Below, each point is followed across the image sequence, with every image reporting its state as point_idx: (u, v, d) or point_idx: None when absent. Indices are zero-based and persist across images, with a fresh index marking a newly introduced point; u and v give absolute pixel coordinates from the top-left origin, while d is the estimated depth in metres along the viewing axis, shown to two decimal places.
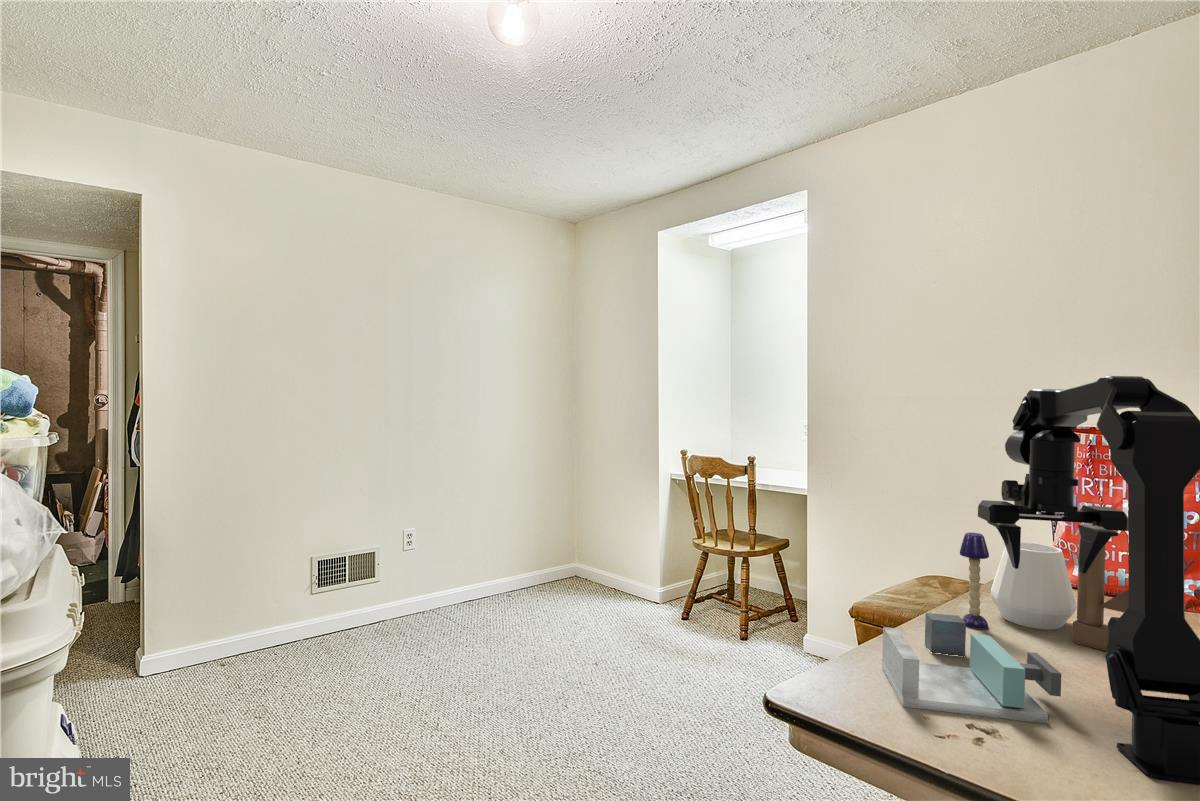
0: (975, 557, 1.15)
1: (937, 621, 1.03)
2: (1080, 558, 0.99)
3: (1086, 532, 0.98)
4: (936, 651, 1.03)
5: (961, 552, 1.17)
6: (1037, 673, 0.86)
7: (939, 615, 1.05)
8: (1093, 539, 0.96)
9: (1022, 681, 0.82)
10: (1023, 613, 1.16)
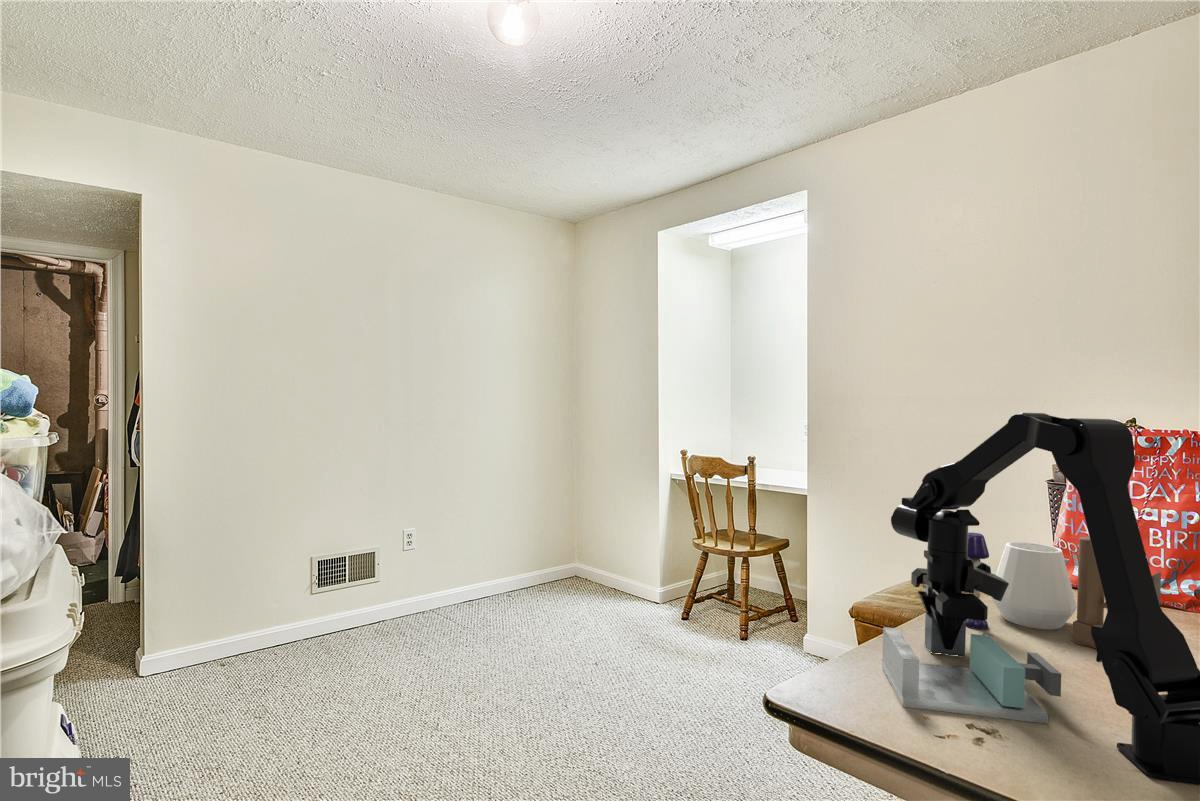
0: (975, 557, 1.15)
1: None
2: None
3: None
4: (936, 651, 1.03)
5: None
6: (1037, 673, 0.86)
7: None
8: None
9: (1022, 681, 0.82)
10: (1023, 613, 1.16)
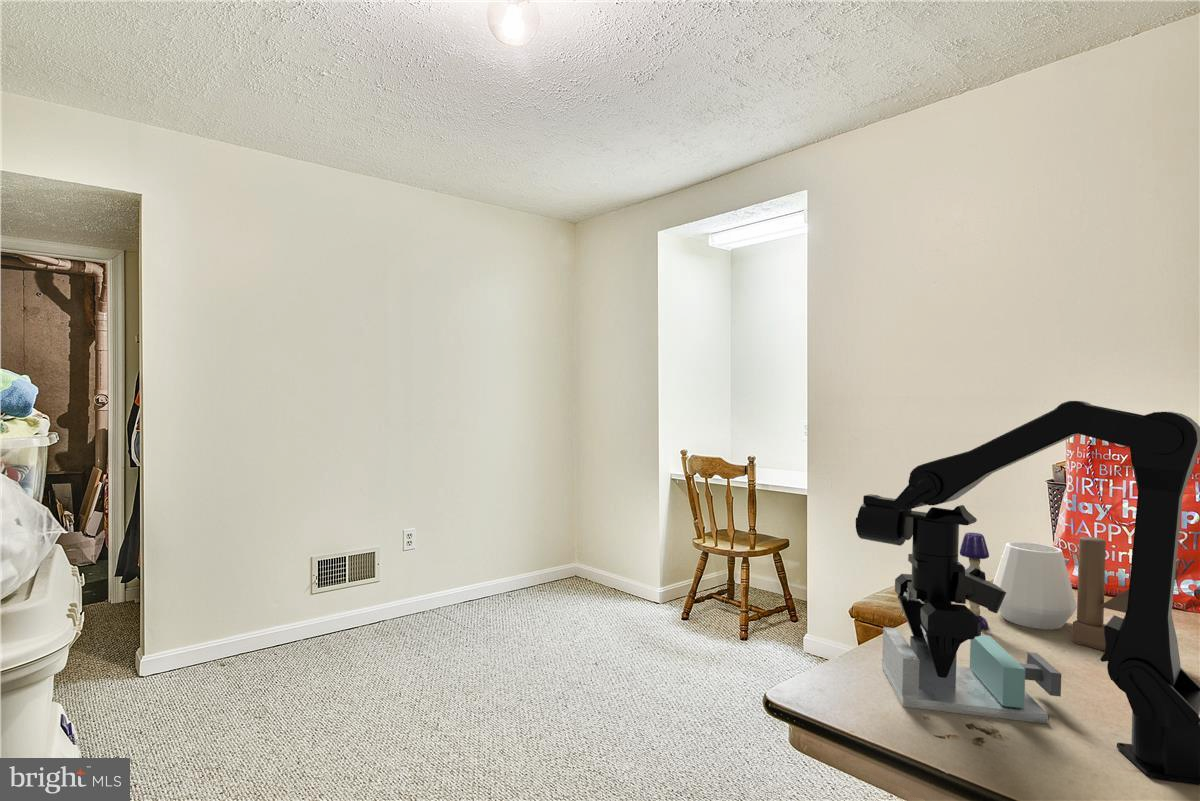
0: (975, 557, 1.15)
1: (923, 647, 0.88)
2: None
3: None
4: (922, 681, 0.88)
5: (961, 552, 1.17)
6: (1037, 673, 0.86)
7: None
8: None
9: (1022, 681, 0.82)
10: (1023, 613, 1.16)
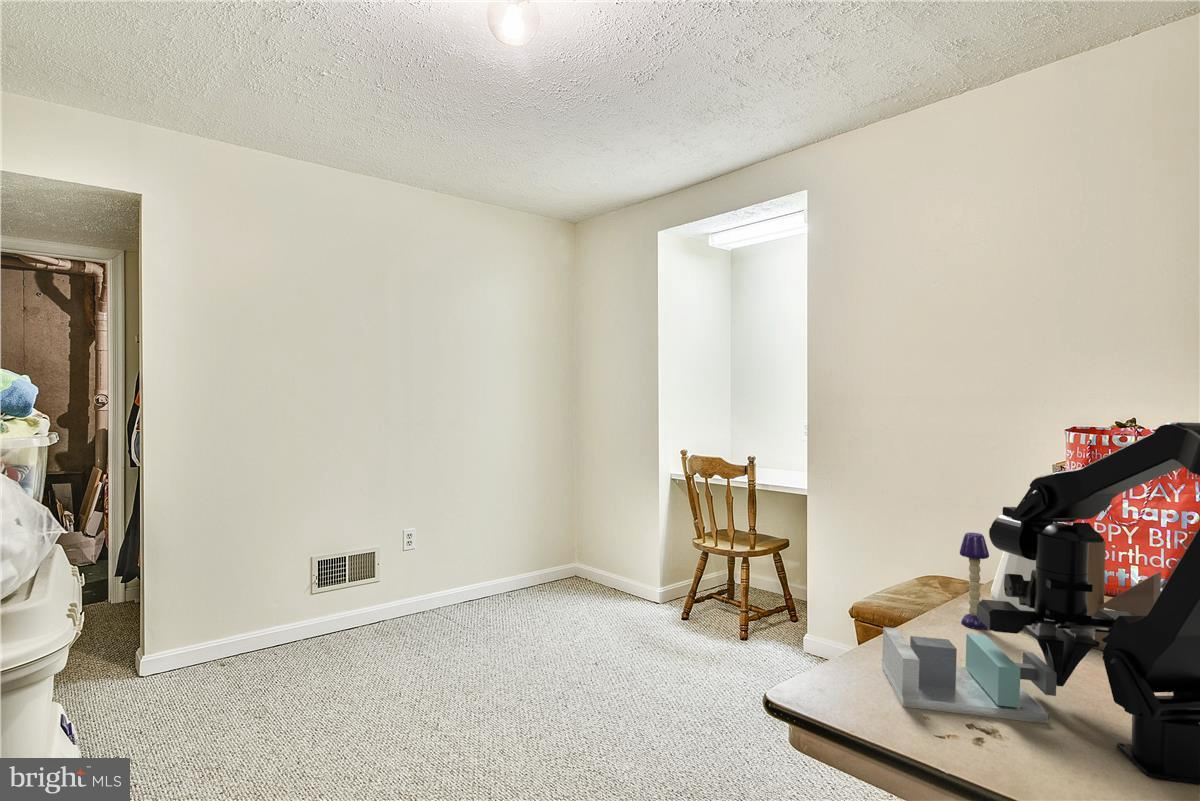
0: (975, 557, 1.15)
1: (923, 647, 0.88)
2: None
3: (1064, 638, 0.86)
4: (922, 681, 0.88)
5: (961, 552, 1.17)
6: (1032, 673, 0.86)
7: (926, 639, 0.91)
8: (1071, 649, 0.84)
9: (1017, 680, 0.82)
10: None
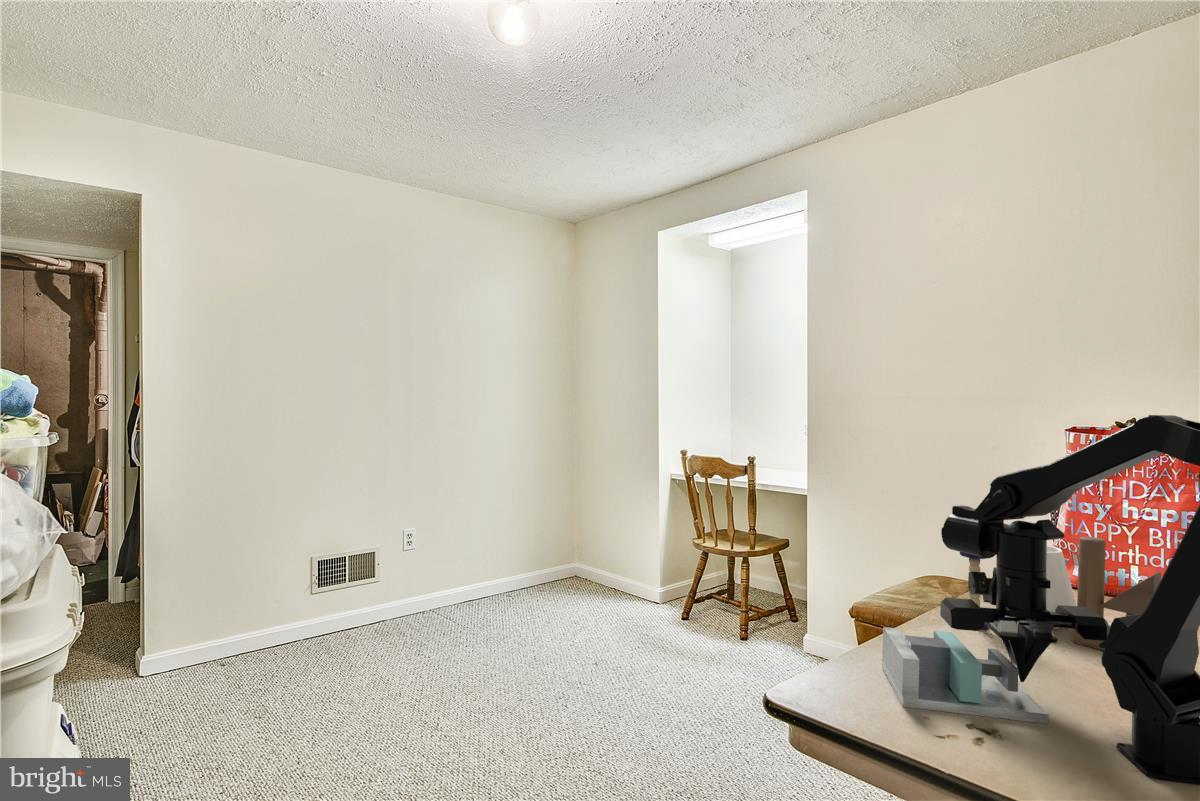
0: (975, 557, 1.15)
1: (918, 646, 0.89)
2: None
3: (1024, 635, 0.87)
4: None
5: (961, 552, 1.17)
6: (996, 669, 0.87)
7: (920, 638, 0.91)
8: (1030, 645, 0.85)
9: (979, 676, 0.83)
10: None
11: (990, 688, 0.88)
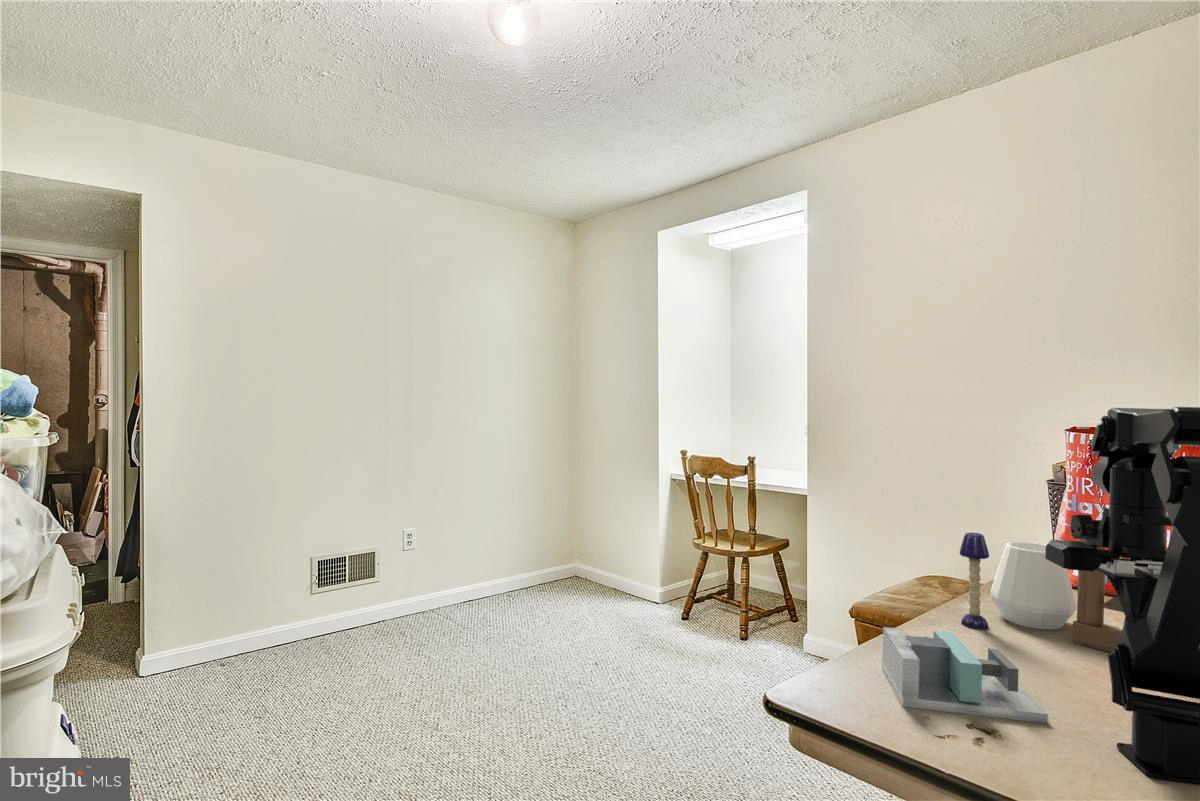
0: (975, 557, 1.15)
1: (918, 646, 0.89)
2: None
3: None
4: None
5: (961, 552, 1.17)
6: (996, 669, 0.87)
7: (920, 638, 0.91)
8: (1150, 587, 0.81)
9: (979, 676, 0.83)
10: (1023, 613, 1.16)
11: (990, 688, 0.88)
